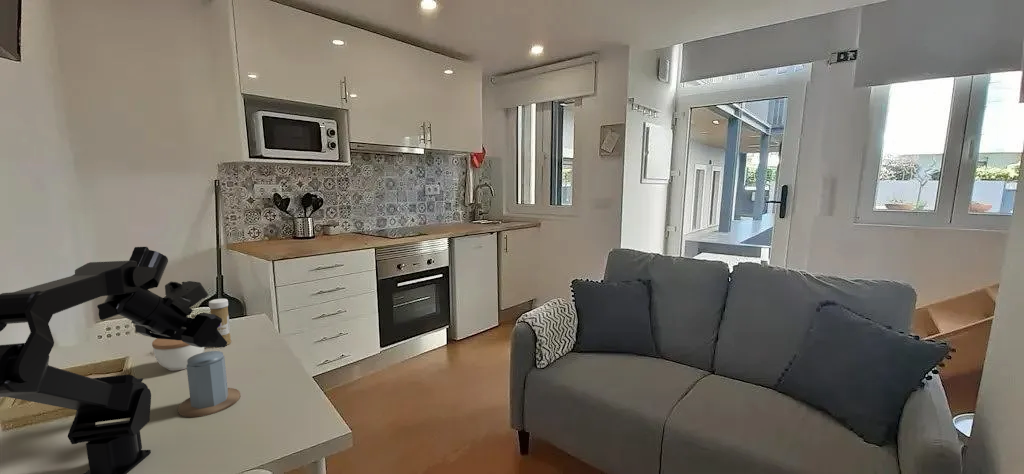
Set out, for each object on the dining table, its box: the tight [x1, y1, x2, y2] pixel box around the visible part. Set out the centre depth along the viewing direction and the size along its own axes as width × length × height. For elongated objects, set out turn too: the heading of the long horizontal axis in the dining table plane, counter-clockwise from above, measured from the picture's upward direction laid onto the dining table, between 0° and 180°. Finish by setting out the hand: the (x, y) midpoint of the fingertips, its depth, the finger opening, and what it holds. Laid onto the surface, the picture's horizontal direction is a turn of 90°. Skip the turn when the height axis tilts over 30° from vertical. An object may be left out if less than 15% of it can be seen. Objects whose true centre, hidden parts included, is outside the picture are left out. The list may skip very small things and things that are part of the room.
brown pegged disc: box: [177, 387, 241, 418], centre depth 91 cm, size 11×11×4 cm
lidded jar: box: [151, 338, 206, 372], centre depth 109 cm, size 11×11×9 cm
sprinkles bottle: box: [208, 298, 232, 346], centre depth 122 cm, size 5×5×14 cm
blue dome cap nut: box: [186, 350, 229, 409], centre depth 90 cm, size 6×6×10 cm
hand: (210, 342), depth 91 cm, fingers open, 9 cm apart
